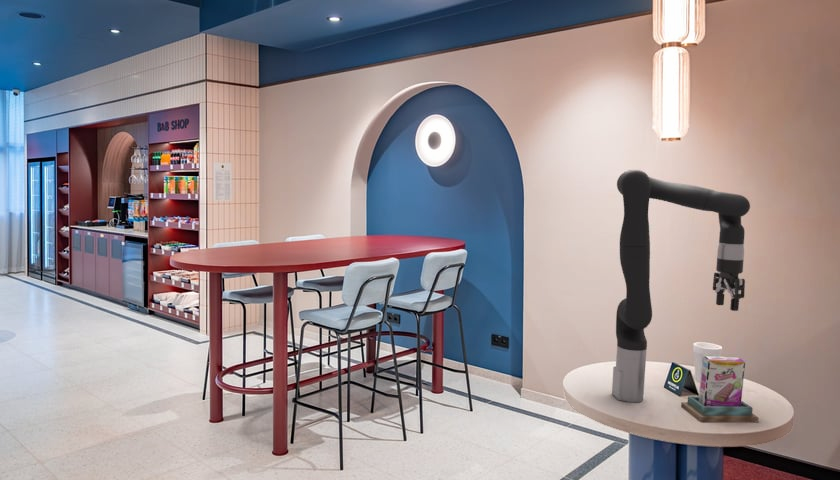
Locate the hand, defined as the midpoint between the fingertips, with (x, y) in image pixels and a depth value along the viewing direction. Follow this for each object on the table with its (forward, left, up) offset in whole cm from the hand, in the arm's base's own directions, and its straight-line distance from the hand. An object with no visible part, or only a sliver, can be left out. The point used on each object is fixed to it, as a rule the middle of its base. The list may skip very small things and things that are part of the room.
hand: (726, 307), depth 192 cm
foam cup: (+8, +24, -32) cm, 41 cm away
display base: (-5, -8, -32) cm, 33 cm away
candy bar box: (-5, -8, -31) cm, 32 cm away
